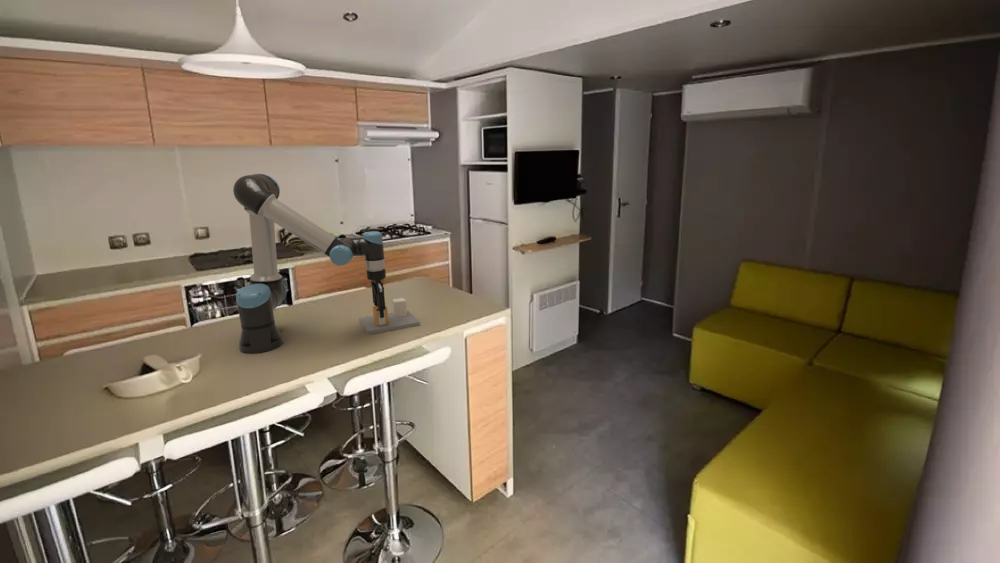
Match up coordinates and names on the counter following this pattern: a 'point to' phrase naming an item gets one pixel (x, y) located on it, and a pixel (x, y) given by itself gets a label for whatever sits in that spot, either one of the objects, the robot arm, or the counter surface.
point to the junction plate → (391, 319)
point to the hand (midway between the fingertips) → (380, 322)
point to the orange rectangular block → (375, 314)
